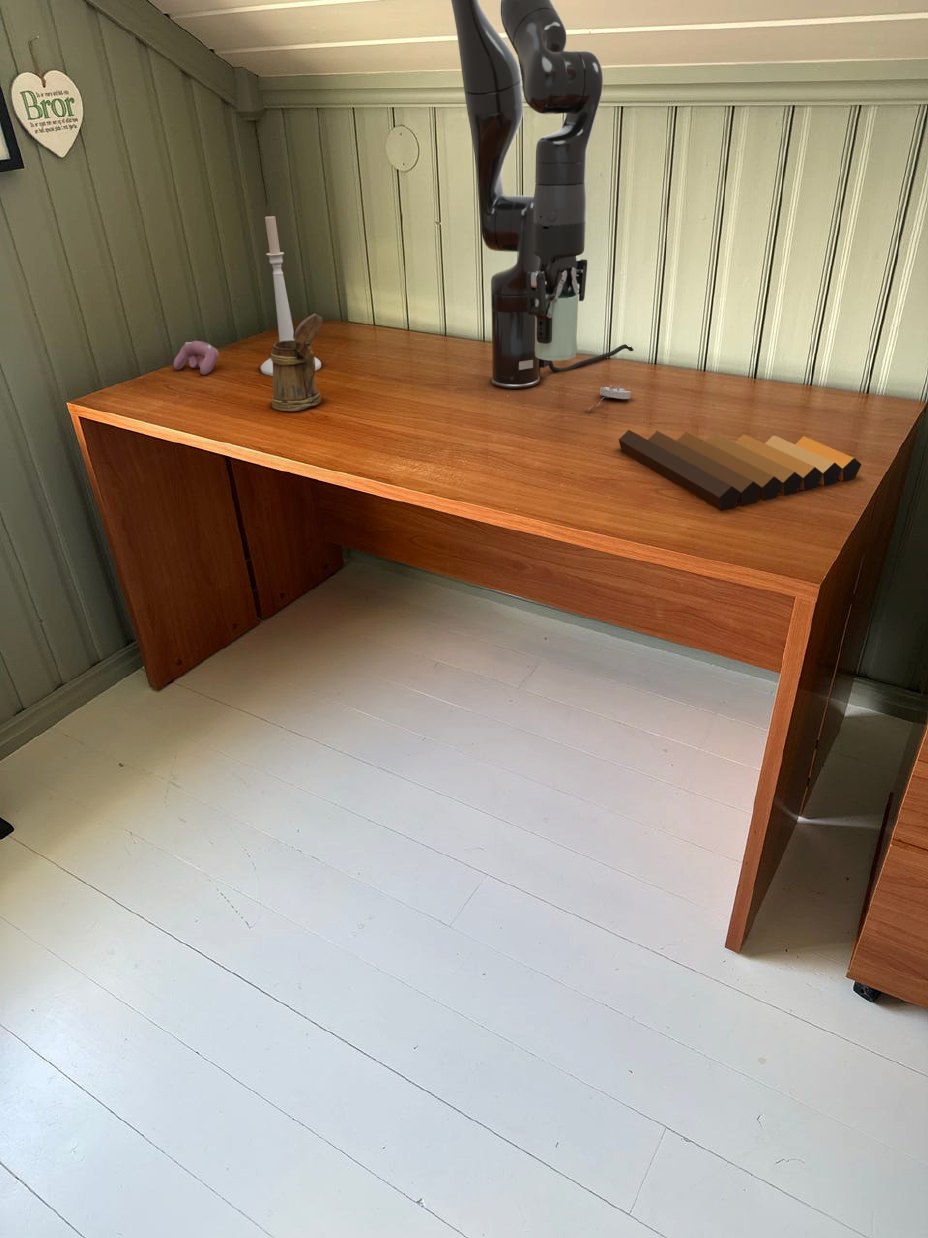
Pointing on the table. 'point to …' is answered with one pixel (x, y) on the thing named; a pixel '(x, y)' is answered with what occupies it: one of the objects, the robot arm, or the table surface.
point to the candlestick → (279, 293)
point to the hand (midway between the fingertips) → (555, 337)
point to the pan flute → (740, 465)
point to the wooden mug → (296, 368)
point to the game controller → (614, 393)
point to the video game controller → (197, 356)
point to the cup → (561, 330)
